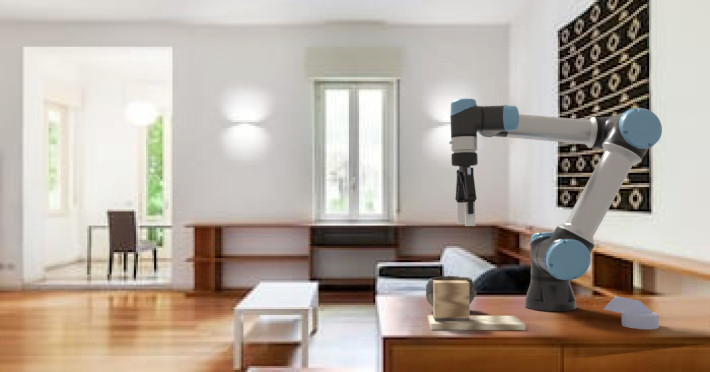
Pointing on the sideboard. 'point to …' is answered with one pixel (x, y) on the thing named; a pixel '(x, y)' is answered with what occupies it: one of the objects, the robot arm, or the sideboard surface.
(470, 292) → the bowl
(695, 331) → the sideboard surface
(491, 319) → the board
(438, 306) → the block
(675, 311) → the sideboard surface
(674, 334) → the sideboard surface
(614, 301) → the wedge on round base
